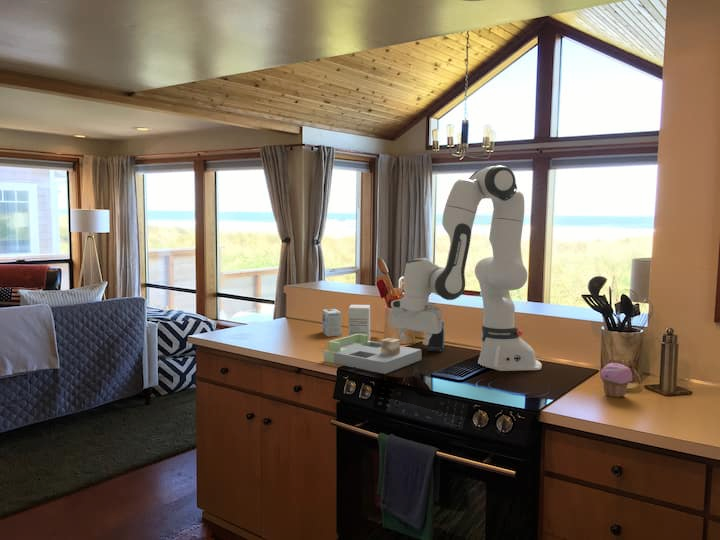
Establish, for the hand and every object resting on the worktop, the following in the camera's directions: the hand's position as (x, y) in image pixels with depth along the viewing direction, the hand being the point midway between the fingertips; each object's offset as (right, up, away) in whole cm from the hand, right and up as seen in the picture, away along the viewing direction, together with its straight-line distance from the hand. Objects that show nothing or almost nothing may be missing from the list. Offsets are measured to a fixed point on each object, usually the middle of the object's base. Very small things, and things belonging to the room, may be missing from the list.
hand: (414, 342), depth 203 cm
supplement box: (-19, -5, +48) cm, 52 cm away
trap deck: (-14, -8, +13) cm, 21 cm away
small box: (+12, -7, +32) cm, 35 cm away
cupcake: (+58, -13, -29) cm, 66 cm away
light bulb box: (-32, -4, +61) cm, 69 cm away
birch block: (-8, -5, +7) cm, 12 cm away
